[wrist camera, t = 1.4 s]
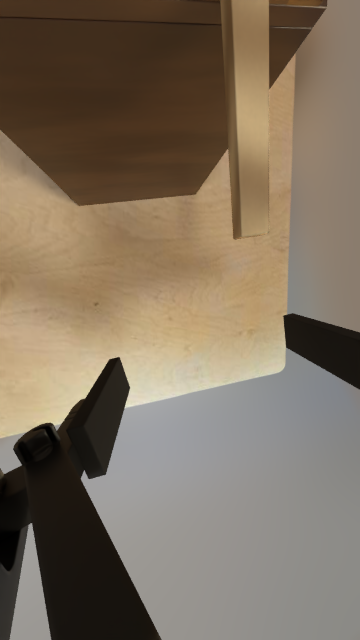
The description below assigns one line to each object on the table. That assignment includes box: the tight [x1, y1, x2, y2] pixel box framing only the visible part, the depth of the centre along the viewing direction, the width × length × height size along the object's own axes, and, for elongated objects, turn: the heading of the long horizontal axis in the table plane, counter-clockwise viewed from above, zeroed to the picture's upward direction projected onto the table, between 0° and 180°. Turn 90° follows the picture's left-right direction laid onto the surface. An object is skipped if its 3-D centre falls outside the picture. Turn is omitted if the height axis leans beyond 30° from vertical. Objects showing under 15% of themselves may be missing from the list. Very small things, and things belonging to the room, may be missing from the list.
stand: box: [0, 0, 327, 206], centre depth 21 cm, size 12×23×29 cm, turn 98°
